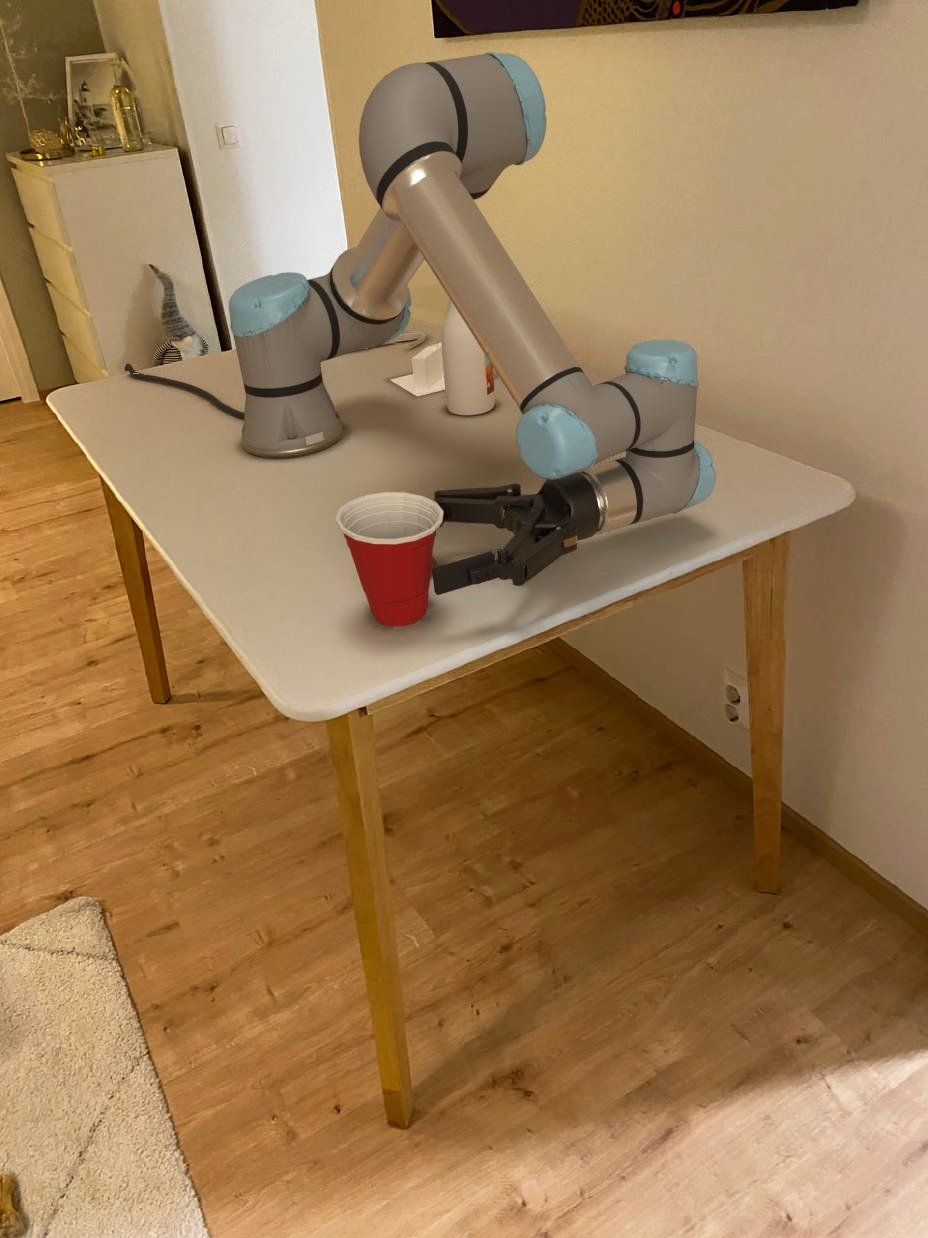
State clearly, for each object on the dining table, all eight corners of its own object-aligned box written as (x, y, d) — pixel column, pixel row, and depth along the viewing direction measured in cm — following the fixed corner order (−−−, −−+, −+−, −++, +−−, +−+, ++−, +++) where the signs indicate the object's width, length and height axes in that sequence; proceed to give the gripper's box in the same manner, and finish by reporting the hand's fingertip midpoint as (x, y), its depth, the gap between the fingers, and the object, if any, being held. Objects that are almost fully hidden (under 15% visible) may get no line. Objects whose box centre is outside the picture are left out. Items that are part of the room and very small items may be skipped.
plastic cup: (438, 644, 99) (427, 538, 92) (337, 637, 101) (319, 534, 95) (463, 589, 107) (454, 489, 101) (370, 584, 110) (355, 486, 104)
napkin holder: (417, 396, 162) (414, 362, 159) (388, 379, 170) (384, 347, 167) (495, 376, 167) (493, 343, 164) (463, 361, 176) (461, 329, 173)
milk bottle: (479, 419, 151) (469, 286, 140) (437, 413, 155) (425, 283, 144) (504, 402, 156) (496, 273, 146) (463, 397, 160) (453, 270, 149)
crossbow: (413, 333, 196) (413, 323, 195) (436, 349, 186) (435, 338, 185) (336, 343, 191) (335, 332, 190) (355, 359, 181) (354, 348, 180)
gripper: (648, 580, 100) (461, 641, 94) (532, 494, 120) (371, 539, 113) (650, 514, 96) (455, 572, 90) (530, 436, 116) (362, 479, 109)
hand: (408, 554), depth 101 cm, fingers open, 13 cm apart
